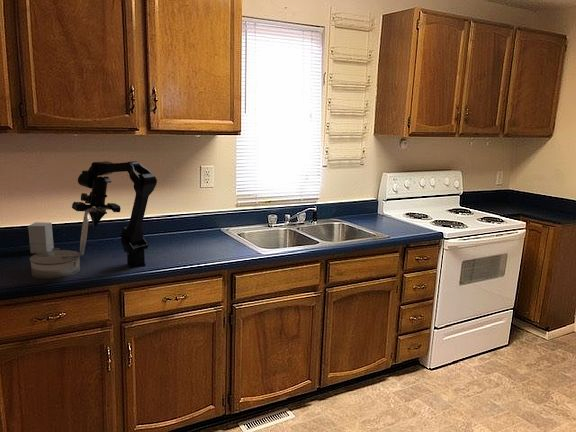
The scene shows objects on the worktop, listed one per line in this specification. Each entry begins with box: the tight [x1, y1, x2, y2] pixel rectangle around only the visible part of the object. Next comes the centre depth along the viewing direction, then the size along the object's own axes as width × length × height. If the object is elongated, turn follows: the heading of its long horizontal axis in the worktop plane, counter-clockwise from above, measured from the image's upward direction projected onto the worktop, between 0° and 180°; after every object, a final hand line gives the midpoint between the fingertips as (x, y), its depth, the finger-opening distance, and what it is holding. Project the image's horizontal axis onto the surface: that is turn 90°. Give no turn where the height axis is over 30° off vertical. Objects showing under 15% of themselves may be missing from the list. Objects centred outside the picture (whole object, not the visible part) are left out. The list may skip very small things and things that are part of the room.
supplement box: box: [27, 221, 55, 254], centre depth 212 cm, size 7×7×13 cm
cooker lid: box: [79, 210, 90, 256], centre depth 188 cm, size 18×18×1 cm
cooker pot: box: [29, 247, 81, 280], centre depth 189 cm, size 18×25×6 cm
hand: (94, 226), depth 203 cm, fingers closed
